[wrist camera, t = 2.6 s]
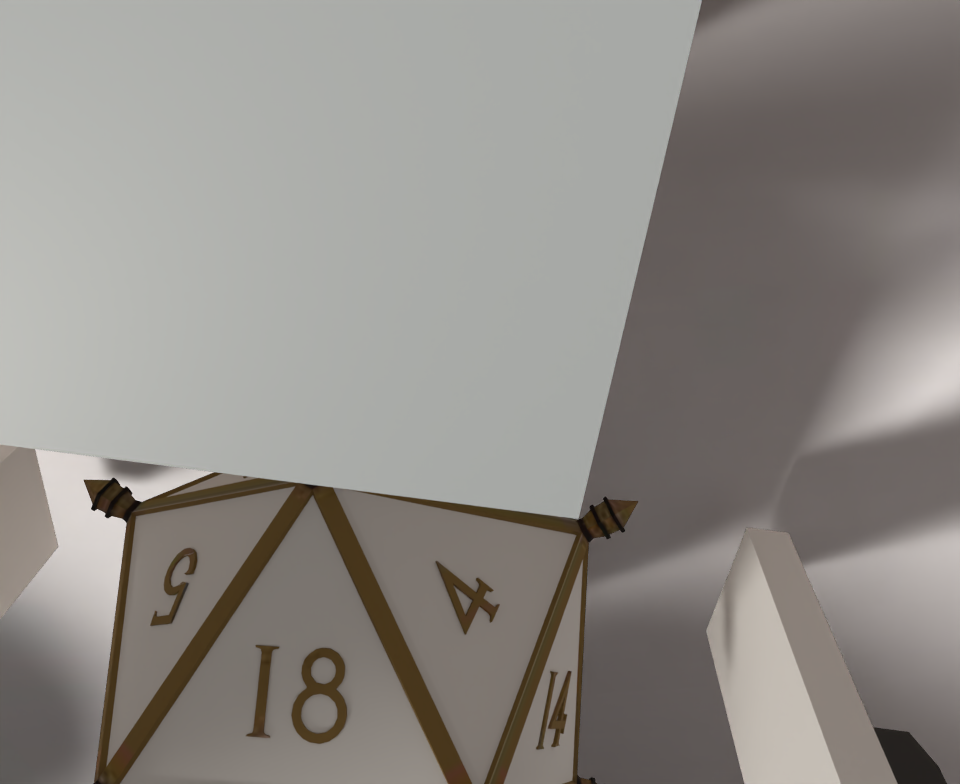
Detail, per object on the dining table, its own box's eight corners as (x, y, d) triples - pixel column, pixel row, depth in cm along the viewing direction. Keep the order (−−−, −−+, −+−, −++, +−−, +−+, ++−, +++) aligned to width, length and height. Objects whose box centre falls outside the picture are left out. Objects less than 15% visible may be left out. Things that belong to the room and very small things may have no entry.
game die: (467, 341, 17) (856, 426, 9) (461, 675, 19) (790, 1032, 10) (21, 356, 13) (-79, 546, 5) (56, 785, 15) (32, 1550, 6)
